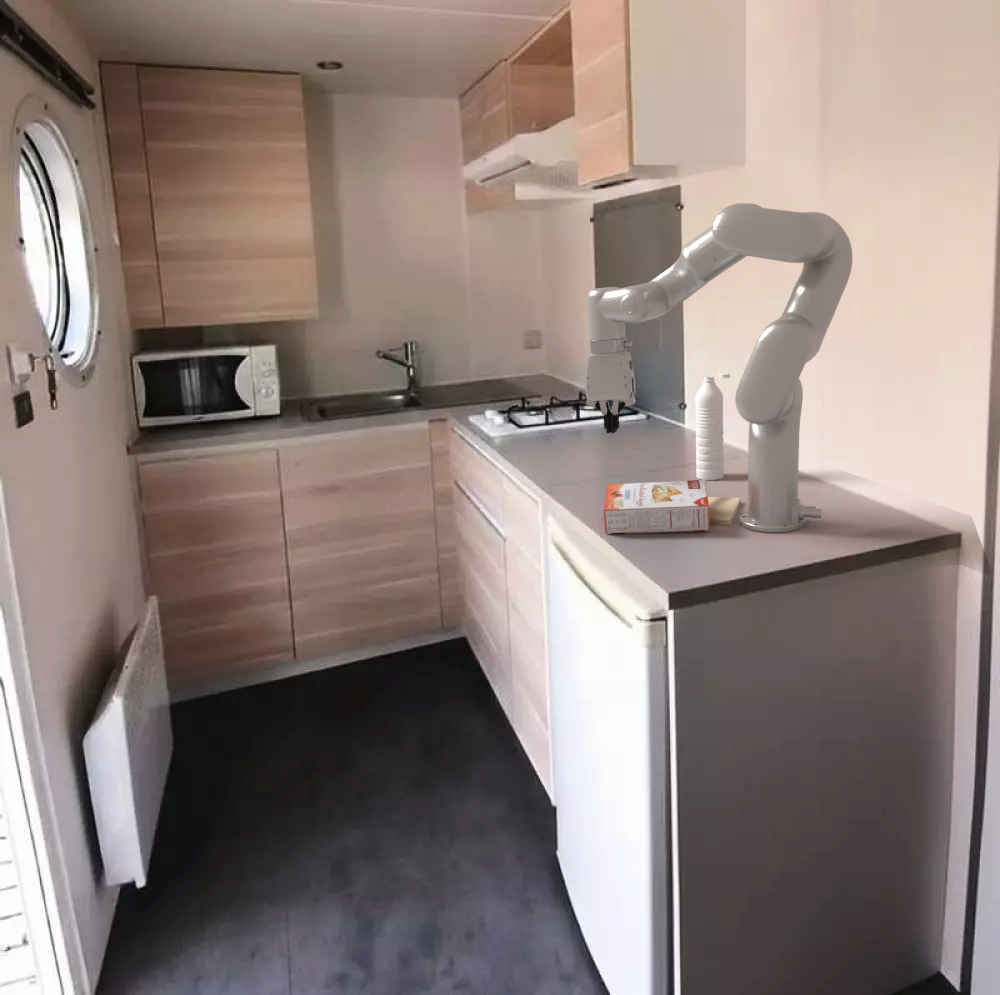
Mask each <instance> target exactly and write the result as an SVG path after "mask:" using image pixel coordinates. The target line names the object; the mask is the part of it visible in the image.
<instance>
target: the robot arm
mask: <svg viewBox="0 0 1000 995" xmlns="http://www.w3.org/2000/svg"><path fill="white" fill-rule="evenodd" d="M746 257H752V258H758V259H766V260H772V261H778V262H783V263H791V264H801V263H802V270H801V273H800V275H799V277H798V279H797V281H796V283H795V284H794V287H793V289H792V292H791V294H790V297H789V299H788V301H787V303H786V306H785V308H784V310H783V312H782V314H781V316H780V317H779V318H778V319H776V320H774V321H772V322H770V323H769V324H768V325H767V326H766V327H765V328H764V329H763V330H762V331H761V334H760V335H759V336H758V338H757V341H756V342H755V345H754V347H753V349H752V351H751V354H750V357H749V359H748V361H747V364H746V366H745V369H744V371H743V374H742V376H741V378H740V380H739V383H738V386H737V389H736V390H735V391H736V392H735V400H734V401H735V408H736V409H737V412H738V414H739V415H740V417H741V418H743V420H745V421H746V422H747V423H749V426H748V444H747V446H748V461H747V462H748V464H747V466H748V467H747V468H748V473H747V474H748V482H747V486H748V487H747V488H748V489H747V490H748V491H747V494H748V495H747V496H748V497H747V501H748V502H747V512H744V513H742V514H741V516H740V517H739V522H740V525H741V526H742V527H744V528H746V529H749V530H752V531H756V532H761V533H762V532H763V533H785V532H787V533H788V532H791V531H792V532H793V531H796V530H799V529H802V528H803V527H805V525H806V518H812V519H822V508H816V506H815V505H804V504H801V498H799V493H798V492H799V463H800V462H799V459H800V457H799V452H800V451H799V449H800V431H801V430H800V427H801V425H800V424H801V416H802V407H803V400H804V399H803V398H804V396H803V395H804V393H803V390H804V389H803V385H802V381H801V379H800V376H801V374H802V371H803V370H804V368H805V366H806V364H807V363H808V362H810V361H811V360H812V359H814V358H815V357H816V356H817V354H818V353H819V352H820V349H821V346H822V344H823V341H824V338H825V336H826V334H827V332H828V329H829V327H830V325H831V323H832V320H833V319H834V316H835V314H836V311H837V308H838V306H839V303H840V301H841V298H842V296H843V294H844V292H845V290H846V288H847V284H848V282H849V278H850V276H851V272H852V267H853V247H852V245H851V241H850V238H849V236H848V234H847V232H846V231H845V229H844V228H843V227H842V226H841V225H840V223H838V221H837V220H836V219H834V218H833V217H832V216H830V215H828V214H825V213H823V212H819V211H818V212H817V211H809V212H807V211H806V212H805V211H804V212H803V211H802V212H801V211H793V210H792V211H791V210H783V209H774V208H768V207H762V206H761V205H759V204H757V203H756V204H755V203H745V202H744V203H742V202H741V203H739V202H738V203H733V204H730V205H728V206H726V207H724V208H723V209H722V210H721V211H720V212H719V213H718V214H717V216H716V217H715V219H714V222H713V224H712V225H711V226H710V227H709V228H707V229H706V230H704V231H703V232H701V233H700V234H699V235H698V236H696V237H695V238H693V239H692V240H690V241H689V242H688V243H686V244H685V245H684V246H683V247H682V249H681V251H680V255H679V257H678V259H677V260H676V261H675V262H674V263H673V264H672V265H671V266H670V267H669V268H667V269H665V271H664V270H663V272H661V273H660V274H659V275H658V276H656V277H655V278H653V279H651V280H650V281H649V282H644V283H640V284H636V285H629V286H625V287H617V286H609V287H608V286H607V287H599V288H592V289H591V290H590V291H589V292H588V294H587V308H588V309H587V310H588V329H589V330H588V331H589V332H588V333H589V346H590V347H589V349H590V353H589V354H588V355H587V359H586V368H585V397H586V402H585V405H587V406H589V407H594V408H596V409H597V410H598V411H599V412H600V414H601V415H602V416H603V428H604V430H606V434H615V433H617V431H618V429H620V412H621V411H622V410H623V409H624V408H625V407H629V406H633V405H634V404H636V398H635V394H636V379H635V373H634V365H633V363H634V362H633V359H632V355H631V352H629V351H627V350H628V348H633V340H628V338H627V337H626V323H627V324H639V323H644V322H646V321H647V322H648V321H650V320H654V319H658V318H660V317H662V316H663V315H665V314H667V313H668V312H670V311H671V310H673V309H675V308H676V307H677V306H679V305H680V304H682V303H683V302H684V301H686V300H688V298H690V297H692V296H693V295H694V294H695V293H697V292H698V291H699V290H701V289H702V288H704V287H705V286H706V285H707V284H708V283H710V282H711V281H712V280H714V279H715V278H716V277H718V276H719V275H721V274H722V273H725V271H727V270H728V269H730V268H732V267H733V266H734V265H735V264H737V263H739V262H741V261H742V260H744V259H745V258H746ZM609 402H612V408H611V407H610V403H609Z"/></svg>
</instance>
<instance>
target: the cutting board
mask: <svg viewBox="0 0 1000 995" xmlns="http://www.w3.org/2000/svg"><path fill="white" fill-rule="evenodd" d="M741 500H742V499H741V497H724V496H722V497H720V496H719V497H718V496H708V503H709V525H711V524H712V525H727V526H728V525H729V526H730V525H731V524H732V523H733V520H734V518H735V515H736V513H737V511H738V509H739V507H740V505H741V503H742V502H741Z"/></svg>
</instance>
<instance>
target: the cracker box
mask: <svg viewBox="0 0 1000 995" xmlns="http://www.w3.org/2000/svg"><path fill="white" fill-rule="evenodd" d="M706 483H707V482H706V480H702V479H697V480H695V479H692V480H675V481H654V482H653V481H651V482H634V483H610V484H607V485H606V492H605V493H606V494H605V500H604V505H603V506H604V507H603V518H604V519H603V520H604V530H605V531H604V532H606V533H625V534H647V533H674V532H677V533H678V532H681V533H682V532H705V531H706V532H707V531H710V524H709V503H708V497H709V496H708V490H707V484H706ZM606 533H605V534H606Z"/></svg>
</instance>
